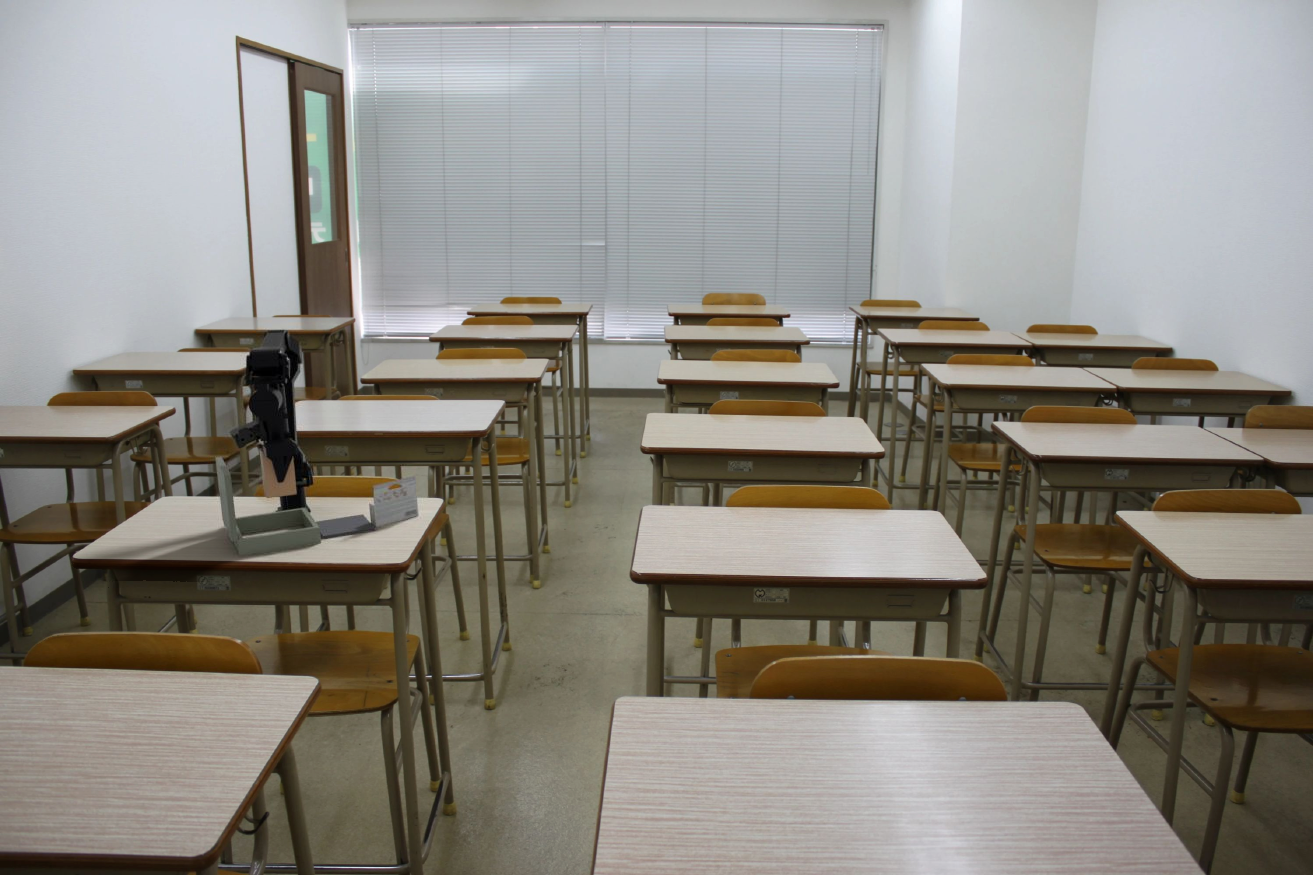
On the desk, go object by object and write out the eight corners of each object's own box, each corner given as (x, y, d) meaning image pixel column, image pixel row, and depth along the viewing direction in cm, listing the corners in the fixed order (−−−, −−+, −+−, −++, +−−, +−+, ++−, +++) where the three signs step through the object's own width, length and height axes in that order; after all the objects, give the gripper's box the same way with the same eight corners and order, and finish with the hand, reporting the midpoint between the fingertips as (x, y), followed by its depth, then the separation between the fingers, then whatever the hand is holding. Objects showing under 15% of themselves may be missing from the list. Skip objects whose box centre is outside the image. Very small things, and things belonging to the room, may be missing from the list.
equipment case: (224, 535, 209) (215, 457, 205) (306, 522, 218) (299, 447, 214) (233, 557, 196) (224, 474, 192) (320, 542, 204) (313, 463, 200)
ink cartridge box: (370, 525, 216) (366, 483, 213) (413, 514, 224) (410, 473, 221) (375, 527, 214) (372, 485, 212) (419, 516, 222) (416, 475, 220)
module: (264, 493, 206) (259, 446, 204) (293, 489, 209) (288, 442, 206) (266, 498, 203) (261, 450, 200) (296, 494, 205) (292, 446, 203)
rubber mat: (313, 524, 216) (313, 522, 216) (363, 516, 221) (362, 514, 221) (323, 538, 207) (323, 536, 207) (374, 530, 212) (374, 527, 212)
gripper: (224, 404, 205) (232, 475, 209) (236, 421, 190) (244, 496, 193) (279, 399, 211) (286, 468, 214) (295, 414, 195) (302, 488, 199)
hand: (279, 480), depth 205 cm, fingers closed on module, 4 cm apart
